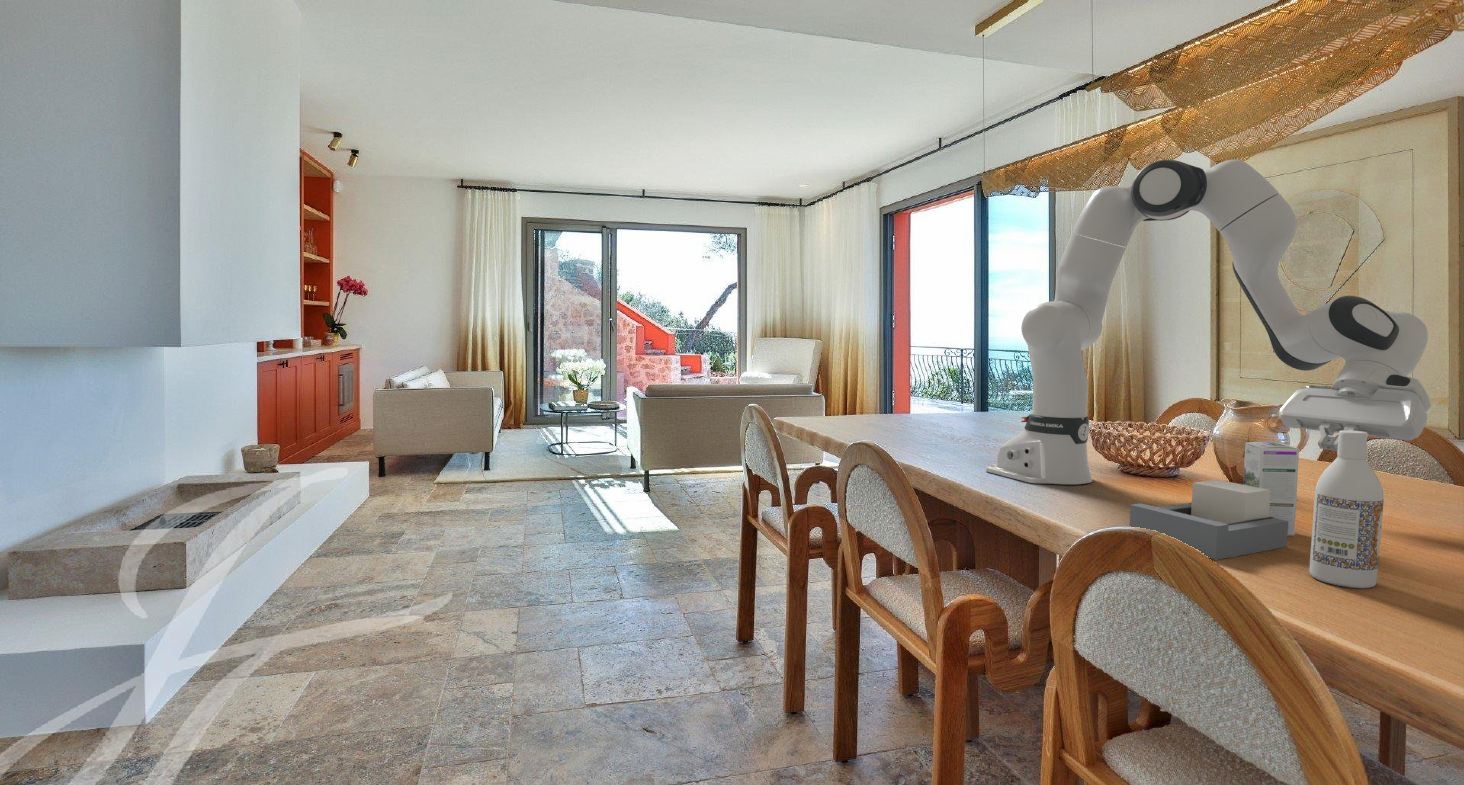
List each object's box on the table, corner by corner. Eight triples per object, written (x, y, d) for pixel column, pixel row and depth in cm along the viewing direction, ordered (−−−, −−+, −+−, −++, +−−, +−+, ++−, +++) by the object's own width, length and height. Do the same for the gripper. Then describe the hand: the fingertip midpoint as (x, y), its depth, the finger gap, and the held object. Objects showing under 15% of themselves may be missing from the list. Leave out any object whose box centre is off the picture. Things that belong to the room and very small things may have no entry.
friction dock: (1197, 524, 126) (1199, 495, 126) (1286, 546, 113) (1288, 514, 113) (1128, 535, 119) (1130, 504, 119) (1215, 560, 107) (1217, 526, 106)
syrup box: (1296, 536, 119) (1302, 447, 118) (1255, 534, 120) (1260, 446, 119) (1277, 527, 125) (1283, 442, 123) (1238, 525, 126) (1244, 440, 124)
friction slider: (1214, 526, 123) (1216, 479, 123) (1267, 540, 116) (1270, 489, 115) (1190, 530, 121) (1192, 482, 120) (1242, 544, 113) (1246, 493, 113)
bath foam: (1381, 593, 93) (1394, 437, 92) (1311, 582, 97) (1322, 432, 95) (1371, 578, 99) (1383, 430, 97) (1306, 568, 103) (1317, 426, 101)
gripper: (1293, 374, 139) (1257, 428, 136) (1431, 380, 120) (1393, 443, 117) (1306, 396, 141) (1271, 450, 138) (1443, 406, 122) (1406, 469, 119)
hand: (1328, 447), depth 127 cm, fingers closed
